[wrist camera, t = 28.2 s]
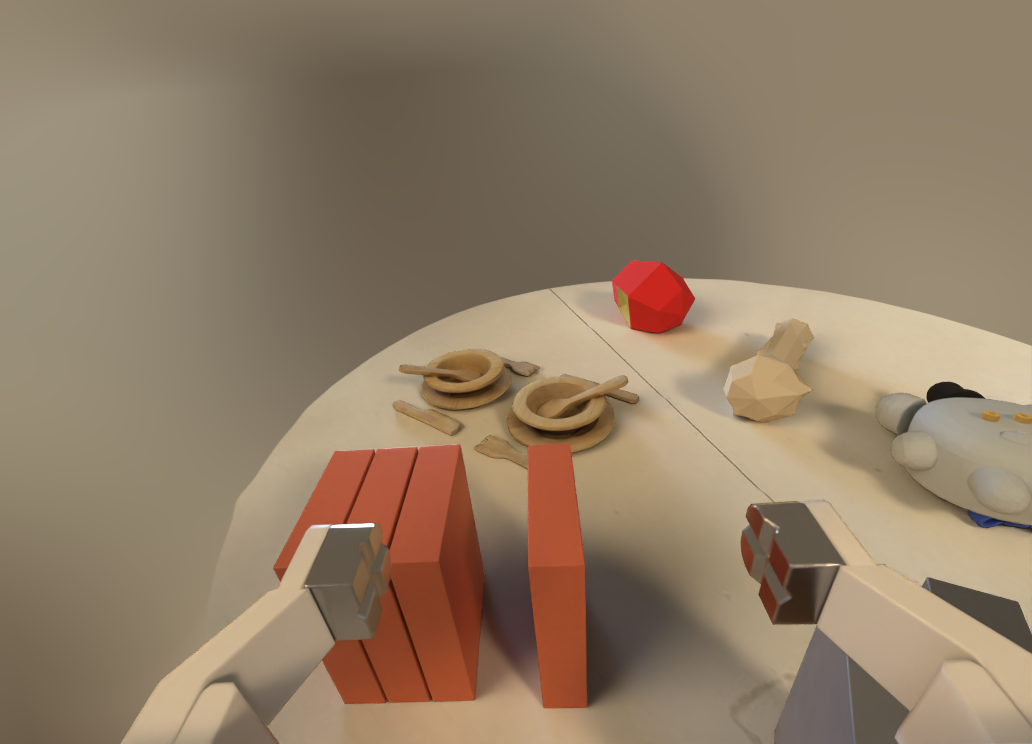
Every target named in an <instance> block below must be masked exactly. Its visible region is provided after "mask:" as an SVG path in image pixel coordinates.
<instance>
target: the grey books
mask: <svg viewBox="0 0 1032 744" xmlns="http://www.w3.org/2000/svg"><path fill="white" fill-rule="evenodd" d="M922 587H923V588H924V589H926V590H928V591H929V592H931V593H933V594H934V595H936V596H938V597H939V598H941V599H943V600H944V601H946V602H947V603H949V604H951V605H952V606H954V607H956V608H957V609H959V610H961V611H962V612H964V613H966V614H967V615H969V616H971V617H972V618H974V619H976V620H977V621H979V622H980V623H982V624H984V625H985V626H987V627H989V628H990V629H992V630H994V631H995V632H997V633H999V634H1000V635H1002V636H1004V637H1005V638H1007V639H1009V640H1010V641H1012V642H1014V643H1015V644H1017V645H1018V646H1020V647H1022V648H1023V649H1025V650H1027V651H1028V652H1030V653H1032V634H1031V632H1030V629H1029V627H1028V624H1027V622H1026V620H1025V617H1024V615H1023V612H1022V610H1021V608H1020V605H1019V603H1018V602H1016V601H1013V600H1009V599H1006V598H1002V597H998V596H995V595H991V594H987V593H984V592H980V591H976V590H973V589H969V588H965V587H962V586H958V585H954V584H951V583H947V582H943V581H940V580H936V579H932V578H926V580H925V582H924V584H923V585H922ZM909 712H910V711H909V710H908V709H907V708H906V707H905V706H904V705H903V704H901V703H900V702H899V701H898V700H897V699H896V698H895V697H894V696H893V695H891V694H890V693H889V692H888V691H887V690H886V689H885V688H884V687H883V686H882V685H880V684H879V683H878V682H877V681H876V680H875V679H874V678H873V677H872V676H870V675H869V674H868V673H867V672H866V671H865V670H864V669H863V668H862V667H860V666H859V665H858V664H857V663H856V662H855V661H854V660H853V659H852V658H851V657H849V656H848V655H847V654H846V653H845V652H844V651H843V650H842V649H841V648H839V647H838V646H837V645H836V644H835V643H834V642H833V641H832V640H831V639H829V638H828V637H827V636H826V635H825V634H824V633H823V632H822V631H821V630H819V629H818V628H817V627H816V628H815V631H814V633H813V636H812V638H811V641H810V643H809V646H808V648H807V651H806V653H805V656H804V658H803V661H802V663H801V666H800V668H799V671H798V673H797V676H796V678H795V681H794V683H793V686H792V689H791V691H790V694H789V696H788V699H787V701H786V704H785V706H784V709H783V711H782V714H781V716H780V719H779V721H778V724H777V726H776V729H775V736H774V744H898V742H897V740H896V739H895V735H896V733H897V731H898V729H899V727H900V726H901V724H902V723H903V721H904V720H905V718H906V717H907V715H908V714H909Z"/></svg>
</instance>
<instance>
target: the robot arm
mask: <svg viewBox="0 0 1032 744" xmlns="http://www.w3.org/2000/svg"><path fill="white" fill-rule="evenodd" d="M746 518H747V520H748V522H749V524H750V525H749V526H747V527H746V528H745V529H744V530H743V531H742V536H741V552H742V557H743V560H744V564H745V566H746V568H747V571H748V573H749V575H750V576H751V577H752V578H754V579H755V580H756V581H758V582H759V583H760V584H761V587H760V591H759V597H760V599H761V601H762V603H763V605H764V607H765V609H766V611H767V613H768V615H769V618H770V620H771V622H772V624H773V625H777V624H817V625H816V627H817V628H818V629H819V630H821V631H822V632H823V633H824V634H825V635H826V636H827V637H828V638H829V639H831V640H832V641H833V642H834V643H835V644H836V645H837V646H838V647H839V648H841V649H842V650H843V651H844V652H845V653H846V654H847V655H848V656H849V657H851V658H852V659H853V660H854V661H855V662H856V663H857V664H858V665H859V666H860V667H862V668H863V669H864V670H865V671H866V672H867V673H868V674H869V675H870V676H872V677H873V678H874V679H875V680H876V681H877V682H878V683H879V684H880V685H882V686H883V687H884V688H885V689H886V690H887V691H888V692H889V693H890V694H891V695H893V696H894V697H895V698H896V699H897V700H898V701H899V702H900V703H901V704H903V705H904V706H905V707H906V708H907V709H908V710H909V711H910V712H909V714H908V715H907V717H906V718H905V720H904V721H903V723H902V724H901V726H900V727H899V729H898V731H897V733H896V735H895V739H896V740H897V742H898V744H1032V653H1030V652H1028V651H1027V650H1025V649H1023V648H1022V647H1020V646H1018V645H1017V644H1015V643H1014V642H1012V641H1010V640H1009V639H1007V638H1005V637H1004V636H1002V635H1000V634H999V633H997V632H995V631H994V630H992V629H990V628H989V627H987V626H985V625H984V624H982V623H980V622H979V621H977V620H976V619H974V618H972V617H971V616H969V615H967V614H966V613H964V612H962V611H961V610H959V609H957V608H956V607H954V606H952V605H951V604H949V603H947V602H946V601H944V600H943V599H941V598H939V597H938V596H936V595H934V594H933V593H931V592H929V591H928V590H926V589H924V588H923V587H921V586H919V585H918V584H916V583H914V582H913V581H911V580H909V579H908V578H906V577H905V576H903V575H901V574H900V573H898V572H896V571H895V570H893V569H891V568H890V567H888V566H886V565H885V564H876V563H875V562H874V561H873V559H872V558H871V557H870V555H869V554H868V553H867V551H866V550H865V549H864V547H863V546H862V545H861V543H860V542H859V541H858V539H857V538H856V537H855V535H854V534H853V533H852V531H851V530H850V529H849V528H848V526H847V525H846V524H845V522H844V521H843V520H842V518H841V517H840V516H839V514H838V513H837V512H836V510H835V509H834V508H833V506H832V505H831V504H830V503H829V502H827V501H826V500H811V501H799V502H798V501H790V502H773V503H757V504H751V505H750V506H749V507H748V509H747V513H746ZM383 534H384V533H383V531H382V528H381V526H380V524H378V523H358V524H329V525H312V526H311V527H310V528H309V529H307V531H306V532H305V534H304V536H303V538H302V540H301V542H300V544H299V546H298V548H297V550H296V552H295V554H294V556H293V558H292V560H291V562H290V564H289V566H288V568H287V570H286V572H285V574H284V576H283V578H282V580H281V582H280V584H279V586H278V588H277V589H276V590H269V591H268V592H267V593H266V594H265V595H263V596H262V597H261V598H260V599H259V600H257V601H256V602H255V603H254V604H253V605H251V606H250V607H249V608H248V609H247V610H245V611H244V612H243V613H242V614H241V615H239V616H238V617H237V618H236V619H234V620H233V621H232V622H231V623H230V624H228V625H227V626H226V627H225V628H224V629H222V630H221V631H220V632H219V633H218V634H216V635H215V636H214V637H213V638H212V639H210V640H209V641H208V642H207V643H206V644H204V645H203V646H202V647H201V648H200V649H199V650H197V651H196V652H195V653H194V654H192V655H191V656H190V657H189V658H187V659H186V660H185V661H184V662H183V663H181V664H180V665H179V666H178V667H177V668H175V670H173V671H172V672H171V673H169V674H168V675H167V676H166V677H165V678H164V679H162V680H161V681H160V682H159V683H158V685H157V686H156V688H155V689H154V691H153V693H152V694H151V696H150V697H149V699H148V701H147V702H146V704H145V705H144V707H143V709H142V710H141V712H140V713H139V715H138V717H137V718H136V720H135V722H134V723H133V725H132V726H131V728H130V729H129V731H128V733H127V734H126V736H125V737H124V739H123V741H122V742H121V744H279V742H278V741H277V740H276V738H275V737H274V736H273V734H272V733H271V732H270V730H269V729H268V728H267V726H268V725H269V723H270V722H271V721H272V720H273V718H274V717H275V716H276V715H277V714H278V712H279V711H280V710H281V709H282V708H283V706H284V705H285V704H286V703H287V702H288V700H289V699H290V698H291V697H292V696H293V694H294V693H295V692H296V691H297V689H298V688H299V687H300V686H301V685H302V683H303V682H304V681H305V680H306V679H307V677H308V676H309V675H310V674H311V673H312V671H313V670H314V669H315V668H316V667H317V665H318V664H319V663H320V662H321V660H322V659H323V658H324V657H325V656H326V654H327V653H328V652H329V651H330V650H331V648H332V647H333V646H334V645H335V641H346V640H362V639H374V637H375V633H376V630H377V626H378V623H379V619H380V615H381V612H382V607H381V604H380V602H379V598H380V597H381V596H382V595H383V594H384V593H385V592H386V591H387V590H388V586H389V582H390V578H391V566H392V564H391V555H390V552H389V548H388V547H387V546H386V545H384V544H383V543H381V541H382V538H383Z"/></svg>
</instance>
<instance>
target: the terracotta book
mask: <svg viewBox="0 0 1032 744" xmlns="http://www.w3.org/2000/svg"><path fill="white" fill-rule="evenodd" d="M528 570H529V579H530V588H531V597H532V606H533V616H534V625H535V634H536V643H537V652H538V661H539V671H540V680H541V689H542V698H543V707H544V708H582V707H587V655H586V592H585V560H584V552H583V544H582V536H581V528H580V520H579V512H578V504H577V495H576V487H575V479H574V471H573V463H572V455H571V447H570V444H569V443H568V444H549V445H531V446H528Z"/></svg>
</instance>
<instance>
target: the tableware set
mask: <svg viewBox="0 0 1032 744" xmlns="http://www.w3.org/2000/svg"><path fill="white" fill-rule="evenodd" d="M504 366H507V367H510V368H511V369H512V371H513V372H515V373H517V374H521V375H524V376H529V375H531V373H534V372H535V370H538V369H539V366H537V365H534V364H531V363H528V362H514V361H511V360H508V359H506V358H503V357H500V356H498V355H497V354H495V353H493V352H491V351H487V350H482V349H463V350H458V351H453V352H449V353H446V354H443V355H441V356H439V357H437V358H435V359H434V360H432V361H431V362H430V363H429V364H428V365H427V366H426V367H422V366H414V365H400V367H399V371H400V372H402V373H405V374H416V375H423V377H424V380H423V382H422V384H421V394H422V396H423V398H424V399H425V400H426V401H427V402H428V403H430V404H432V405H434V406H436V407H439V408H443V409H453V410H460V409H469V408H474V407H478V406H481V405H484V404H487V403H489V402H491V401H493V400H495V399H497V398H498V397H500V396H501V395H502V394H503V393H505V392H506V390H507V389H508V388H509V386H510V383H511V376H510V373H509V371H508V370H507V369H506V367H504ZM627 384H628V379H627V377H626V376H624V375H621V376H618V377H615V378H613V379H611V380H608V381H606V382H604V383H602V384H599V383H595V382H592V381H588V380H585V379H581V378H578V377H574V376H571V375H567V374H562V375H561V376H560V377H550V378H545V379H540V380H537V381H535V382H532V383H530V384H528V385H526V386H525V387H524V388H522V389H521V390H520V391H519V392H518V393H517V395H516V396H515V398H514V401H513V407H512V408H511V410H510V412H509V414H508V418H507V424H508V429H509V431H510V433H511V435H512V436H513V437H514V439H516V440H517V441H518V442H519V443H521V444H522V445H524V446H526V447H528V446H531V445H549V444H568V443H569V444H570V447H571V453H572V452H577V451H581V450H585V449H588V448H590V447H592V446H594V445H596V444H598V443H600V442H601V441H602V440H604V439H605V438H606V437H607V436H608V435H609V433H610V432H611V430H612V428H613V426H614V419H615V418H614V412H613V409H612V407H611V406H610V404H609V403H608V402H607V401H606V398H605V395H604V394H606V395H609V396H612V397H614V398H617V399H620V400H623V401H626V402H629V403H637V402H638V401H639V396H638V395H637V394H634V393H631V392H627V391H624V390H620V389H619V388H622V387H624V386H625V385H627ZM393 406H394V408H395V409H396V410H398V411H400V412H402V413H404V414H407V415H409V416H411V417H413V418H416V419H418V420H420V421H422V422H424V423H426V424H429V425H431V426H433V427H435V428H437V429H439V430H441V431H443V432H445V433H447V434H449V435H451V436H452V435H454V434H455V433H457V432H458V431H459V428H460V425H459V422H458V421H456V420H454V419H452V418H450V417H448V416H446V415H443V414H441V413H439V412H437V411H435V410H424V411H421V410H418V409H417V408H415V407H413V406H411V405H409V404H408V403H406V402H404V401H395V402H394V403H393ZM486 440H487V441H485V440H483V441H482V442H481V445H477V446H476V447H475V450H476V451H478V452H481V453H483V454H485V455H487V456H489V457H493V458H507V459H510V460H511V461H513V462H515V463H517V464H519V465H521V466H523V467H525V468H527V469H528V455H526V454H523V453H521V452H518V451H516V450H514V449H512V448H511V447H510V445H509V443H508V442H507V441H505V440H502V439H500V438H497V437H495V436H492V435H489V436H488V437H487V438H486Z"/></svg>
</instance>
